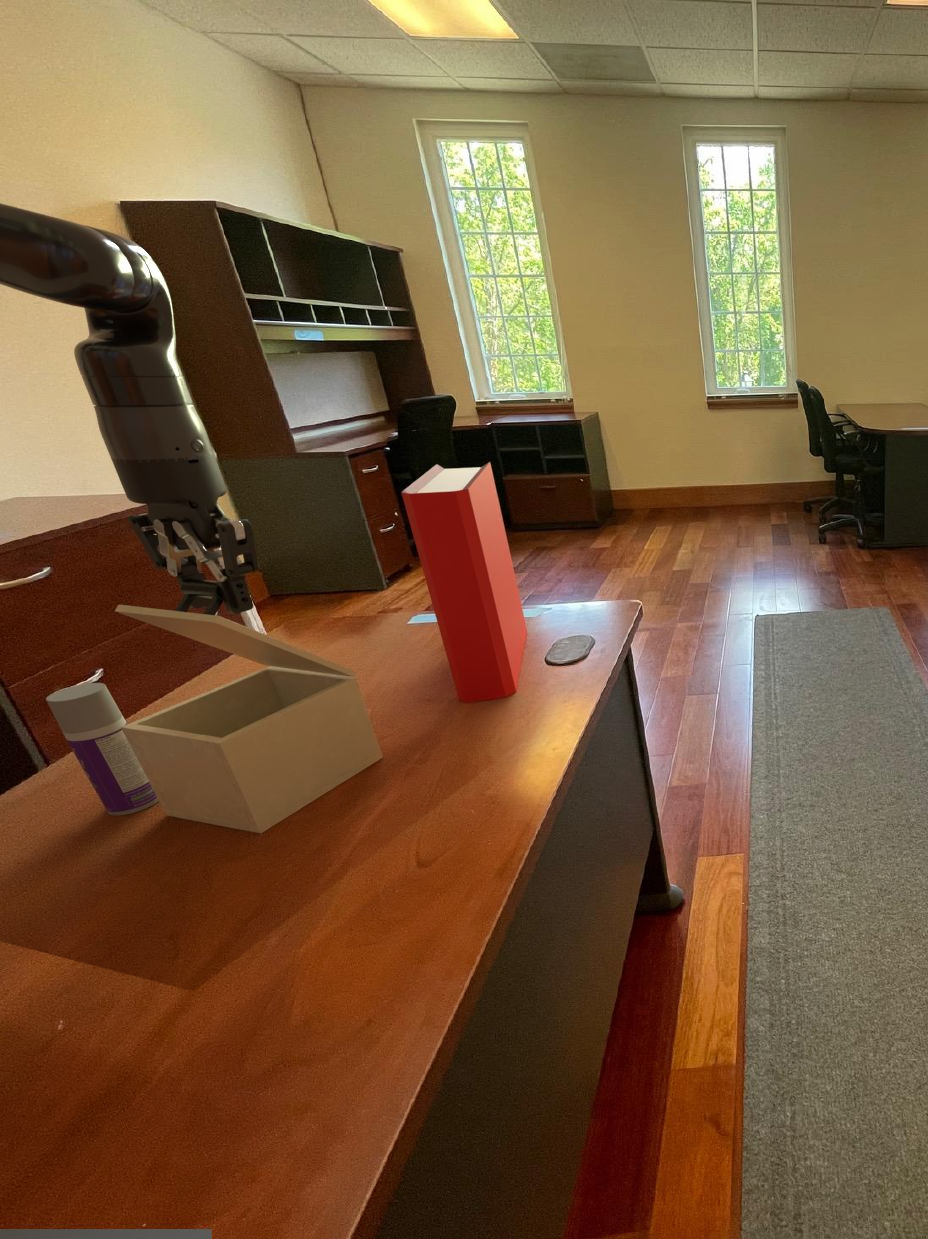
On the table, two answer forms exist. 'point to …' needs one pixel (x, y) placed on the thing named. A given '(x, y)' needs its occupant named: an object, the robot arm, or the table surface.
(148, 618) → the lid
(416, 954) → the table surface
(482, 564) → the book
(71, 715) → the container
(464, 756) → the table surface
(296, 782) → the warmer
